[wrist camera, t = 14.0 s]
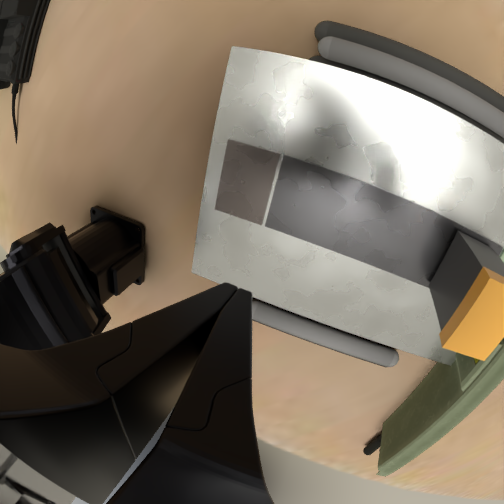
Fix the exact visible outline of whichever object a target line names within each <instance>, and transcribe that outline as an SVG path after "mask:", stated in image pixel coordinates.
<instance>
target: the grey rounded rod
mask: <svg viewBox="0 0 504 504" xmlns="http://www.w3.org/2000/svg"><path fill="white" fill-rule="evenodd" d="M252 320H253V321H256V322H258V323H261V324H263V325H266V326H269V327H271V328H274V329H276V330H279V331H282V332H284V333H287V334H290V335H292V336H295V337H298V338H301V339H303V340H306V341H309V342H312V343H314V344H317V345H320V346H323V347H326V348H329V349H332V350H334V351H337V352H340V353H343V354H346V355H349V356H352V357H355V358H358V359H361V360H364V361H368V362H371V363H374V364H377V365H380V366H383V367H392V366H394V365H396V364H397V362H398V360H399V355H398V353H397V351H395V350H393V349H391V348H388V347H385V346H382V345H379V344H376V343H373V342H370V341H367V340H364V339H361V338H358V337H355V336H352V335H349V334H347V333H344V332H341V331H338V330H335V329H332V328H330V327H327V326H324V325H321V324H318V323H316V322H313V321H310V320H307V319H305V318H302V317H299V316H297V315H294V314H291V313H289V312H286V311H283V310H281V309H278V308H275V307H273V306H270V305H268V304H265V303H262V302H260V301H257V300H254V299H252Z"/></svg>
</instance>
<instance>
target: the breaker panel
mask: <svg viewBox="0 0 504 504" xmlns="http://www.w3.org/2000/svg"><path fill="white" fill-rule="evenodd" d="M457 231H460V232H462V233H464V234H466V235H468V236H470V237H472V238H474V239H476V240H478V241H480V242H482V243H484V244H485V245H487V246H489V247H491V248H493V249H494V251H495V252H496V253H497V254H498V256H499V257H500V258H501V260H502V261H503V263H504V144H503V143H502V142H500V141H499V140H497V139H495V138H494V137H492V136H491V135H489V134H487V133H486V132H484V131H483V130H481V129H479V128H478V127H476V126H474V125H472V124H471V123H469V122H467V121H465V120H463V119H462V118H460V117H458V116H456V115H454V114H452V113H450V112H448V111H446V110H444V109H442V108H440V107H438V106H436V105H434V104H432V103H430V102H428V101H426V100H424V99H421V98H419V97H417V96H415V95H412V94H410V93H408V92H405V91H403V90H400V89H398V88H396V87H393V86H390V85H388V84H385V83H383V82H380V81H377V80H374V79H372V78H369V77H366V76H363V75H360V74H357V73H354V72H351V71H347V70H344V69H341V68H337V67H334V66H330V65H327V64H323V63H319V62H315V61H311V60H307V59H303V58H299V57H294V56H289V55H285V54H280V53H274V52H269V51H263V50H257V49H250V48H243V47H236V46H232V48H231V52H230V57H229V61H228V65H227V70H226V74H225V78H224V83H223V88H222V92H221V97H220V102H219V107H218V111H217V116H216V122H215V127H214V132H213V137H212V142H211V148H210V153H209V159H208V165H207V170H206V176H205V182H204V189H203V195H202V201H201V208H200V214H199V221H198V228H197V235H196V242H195V250H194V257H193V265H192V273H194V274H197V275H199V276H202V277H204V278H206V279H209V280H211V281H214V282H216V283H219V284H222V283H225V282H227V283H230V284H233V285H235V286H237V287H238V289H239V288H243V289H245V290H248V291H250V292H252V297H254V298H257V299H259V300H262V301H264V302H267V303H269V304H272V305H275V306H277V307H280V308H283V309H285V310H288V311H291V312H293V313H296V314H299V315H301V316H304V317H307V318H309V319H312V320H315V321H318V322H320V323H323V324H326V325H329V326H332V327H334V328H337V329H340V330H343V331H346V332H349V333H351V334H354V335H357V336H360V337H363V338H366V339H369V340H372V341H375V342H378V343H381V344H384V345H387V346H390V347H393V348H396V349H399V350H402V351H405V352H408V353H411V354H415V355H418V356H421V357H424V358H427V359H430V360H434V361H437V362H440V363H443V364H447V365H450V366H451V365H452V364H453V362H454V361H455V360H456V357H455V354H456V352H454V351H451V350H448V349H445V348H442V345H441V340H440V336H439V333H440V332H441V329H440V325H439V321H438V317H437V313H436V310H435V306H434V303H433V299H432V296H431V292H430V289H429V286H428V285H429V284H430V282H431V280H432V279H433V277H434V275H435V273H436V272H437V270H438V268H439V266H440V264H441V263H442V261H443V259H444V257H445V255H446V253H447V251H448V249H449V247H450V245H451V244H452V242H453V240H454V237H455V235H456V233H457Z"/></svg>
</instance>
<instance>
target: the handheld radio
mask: <svg viewBox="0 0 504 504" xmlns="http://www.w3.org/2000/svg"><path fill="white" fill-rule="evenodd" d="M455 357H456V360H455V361H454V362H453V364H452V365H451V366H450V365H447V364H443V363H440V362H437V363H436V365H435V366H434V367H433V368H432V370H431V371H430V372H429V373H428V375H427V376H426V377H425V378H424V380H423V381H422V382H421V383H420V384H419V385H418V387H417V388H416V389H415V390H414V391H413V392H412V393H411V395H410V396H409V397H408V398H407V399H406V400H405V401H404V402H403V403H402V404H401V406H400V407H399V408H398V409H397V410H396V411H395V412H394V413H393V414H392V415H391V416H390V417H389V418H388V419H387V420H386V421H385V422H384V423H383V429H382V434H381V435H379V436H378V437H377V438H376V439H374V440H373V441H372V442H371V443H370V444H369V445H368V446H366V447H365V448H364V450H363V451H364V454H366V455H371V454H372V453H373V452H374V451H376V450H377V449H378V448H379V447H380V450H379V451H380V454H379V461H378V470H379V472H378V473H377V474H376V475H380V476H388V475H390V474H391V473H393V472H395V471H396V470H398V469H399V468H401V467H402V466H404V465H405V464H407V463H408V462H410V461H411V460H413V459H414V458H416V457H417V456H418V455H420V454H421V453H423V452H424V451H425V450H427V449H428V448H429V447H431V446H432V445H433V444H434V443H436V442H437V441H438V440H439V439H441V438H442V437H443V436H444V435H446V434H447V433H448V432H449V431H450V430H452V429H453V428H454V427H455V426H456V425H457V424H459V423H460V422H461V421H462V420H463V419H464V418H465V417H466V416H467V415H469V414H470V413H471V412H472V411H473V410H474V409H475V408H476V407H477V406H478V405H479V404H480V403H481V402H482V401H483V400H484V399H485V398H486V397H487V396H488V395H489V394H490V393H491V392H492V391H493V390H494V389H495V388H496V387H497V385H498V384H499V383H500V382H501V381H502V380H503V379H504V338H503V339H502V340H501V342H500V343H499V344H498V345H497V347H496V348H495V349H494V350H493V351H492V353H491V354H490V355H489V356H488V357H487V358H486V360H485V361H482V360H479V359H476V358H473V357H470V356H467V355H463V354H460V353H457V352H456V354H455Z"/></svg>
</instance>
